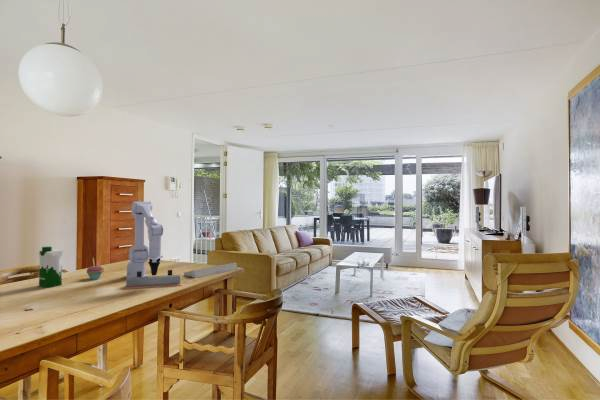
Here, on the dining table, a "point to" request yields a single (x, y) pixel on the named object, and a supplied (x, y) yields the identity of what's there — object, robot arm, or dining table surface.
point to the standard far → (169, 272)
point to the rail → (152, 280)
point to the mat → (153, 286)
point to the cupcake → (95, 271)
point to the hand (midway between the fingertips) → (154, 273)
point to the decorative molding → (211, 270)
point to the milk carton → (50, 267)
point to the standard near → (139, 273)
